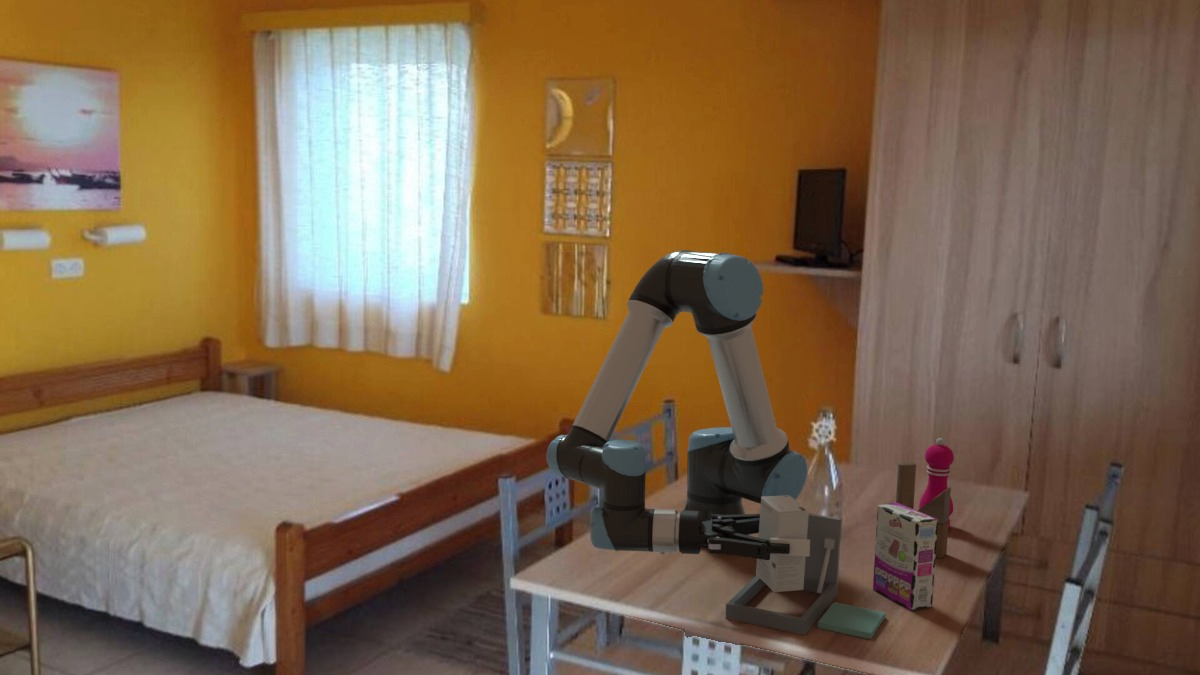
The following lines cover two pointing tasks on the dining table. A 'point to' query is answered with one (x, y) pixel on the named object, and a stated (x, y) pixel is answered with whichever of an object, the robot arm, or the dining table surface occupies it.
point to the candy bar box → (905, 555)
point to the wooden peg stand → (934, 508)
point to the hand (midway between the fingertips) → (808, 537)
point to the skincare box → (782, 522)
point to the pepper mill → (937, 472)
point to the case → (816, 579)
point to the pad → (851, 620)
